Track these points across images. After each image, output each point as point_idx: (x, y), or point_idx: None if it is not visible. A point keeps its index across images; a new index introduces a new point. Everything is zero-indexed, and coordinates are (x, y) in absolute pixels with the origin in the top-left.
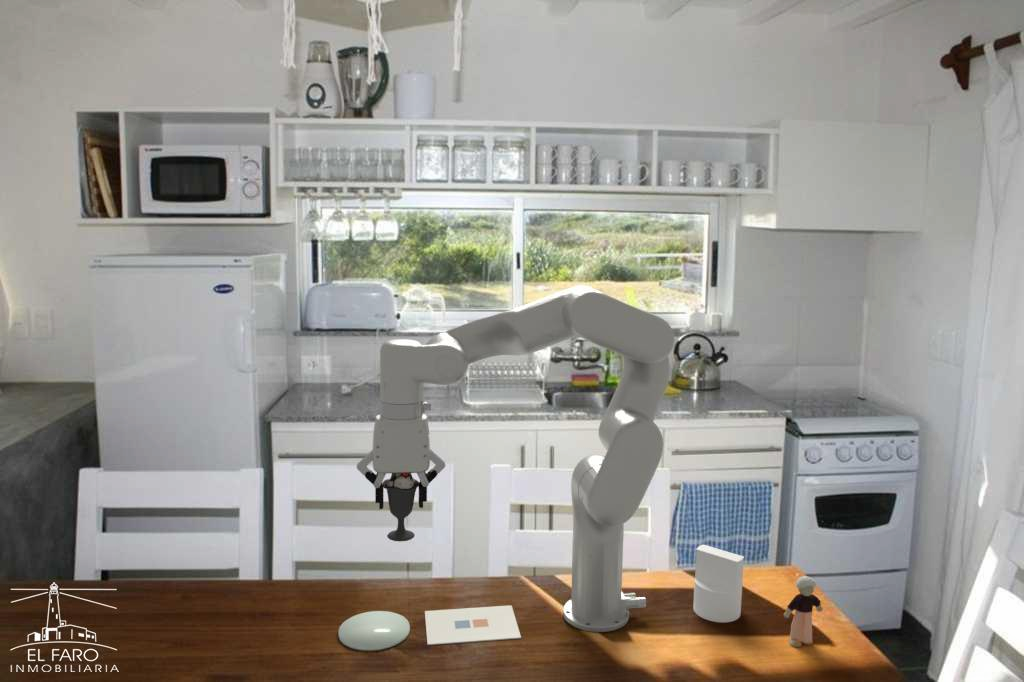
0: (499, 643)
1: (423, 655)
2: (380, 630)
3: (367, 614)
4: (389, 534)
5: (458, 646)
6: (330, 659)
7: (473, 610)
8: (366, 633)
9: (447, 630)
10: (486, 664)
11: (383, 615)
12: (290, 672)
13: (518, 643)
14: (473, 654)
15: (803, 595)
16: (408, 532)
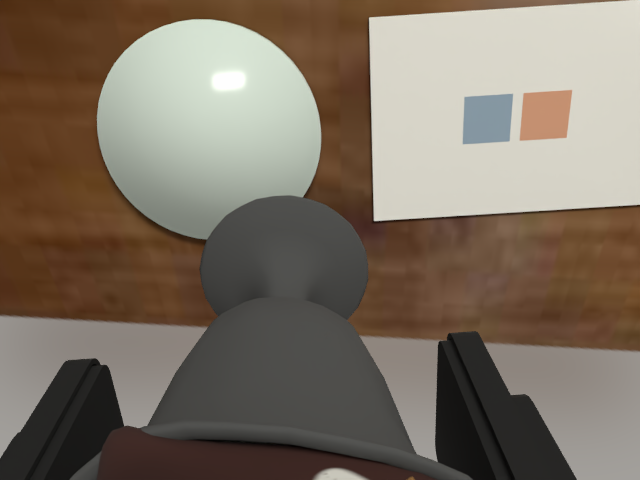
0: (574, 223)
1: None
2: (231, 151)
3: (170, 43)
4: (213, 280)
5: (459, 230)
6: (117, 267)
7: (539, 26)
8: (190, 166)
9: (436, 152)
10: (518, 311)
11: (227, 54)
12: (33, 314)
13: (626, 226)
14: (493, 269)
15: None
16: (331, 278)
